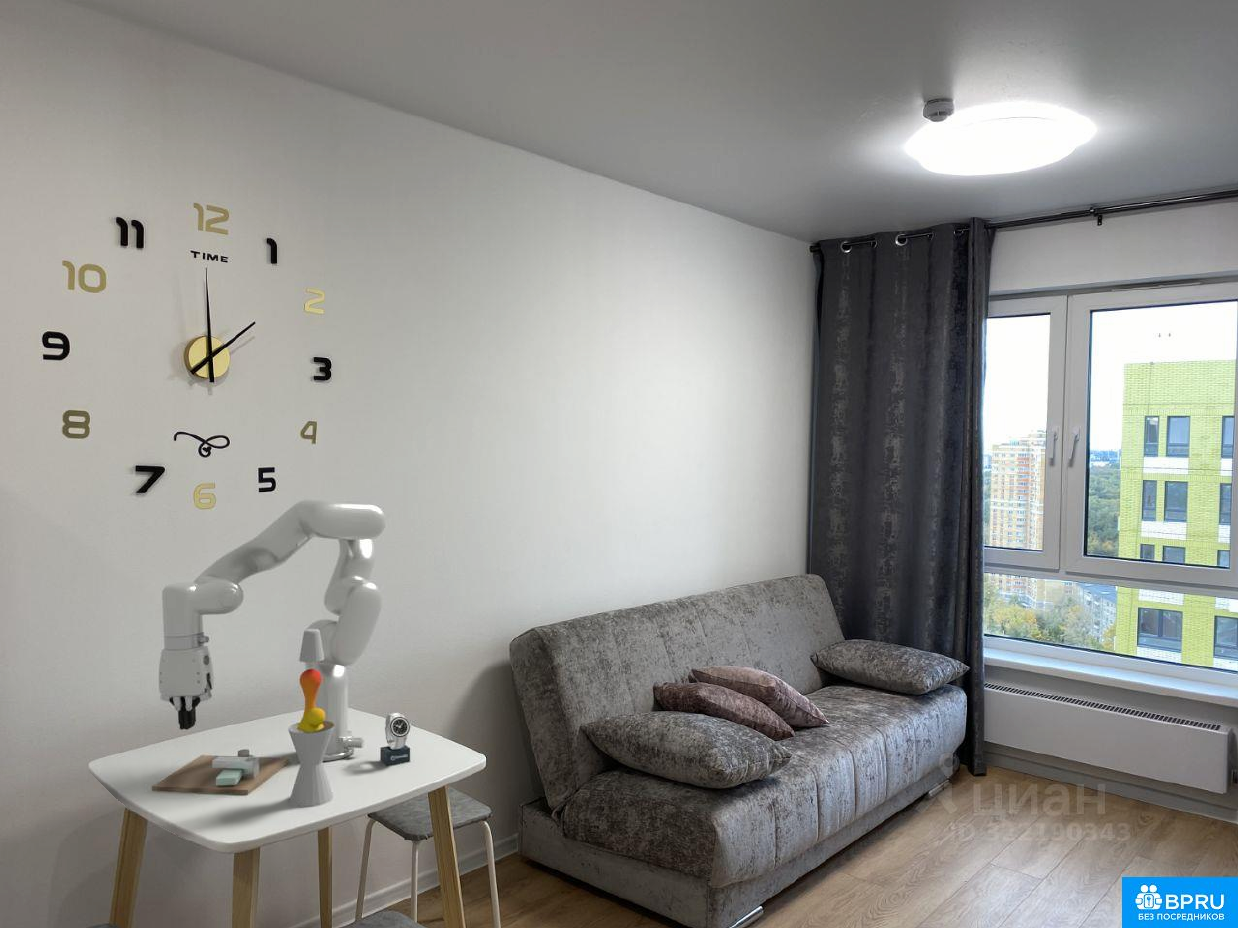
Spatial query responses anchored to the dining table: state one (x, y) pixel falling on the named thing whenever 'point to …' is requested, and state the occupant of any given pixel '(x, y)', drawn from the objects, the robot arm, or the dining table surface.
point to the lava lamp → (311, 732)
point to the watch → (396, 740)
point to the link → (230, 776)
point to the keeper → (239, 765)
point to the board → (203, 776)
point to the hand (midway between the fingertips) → (187, 727)
